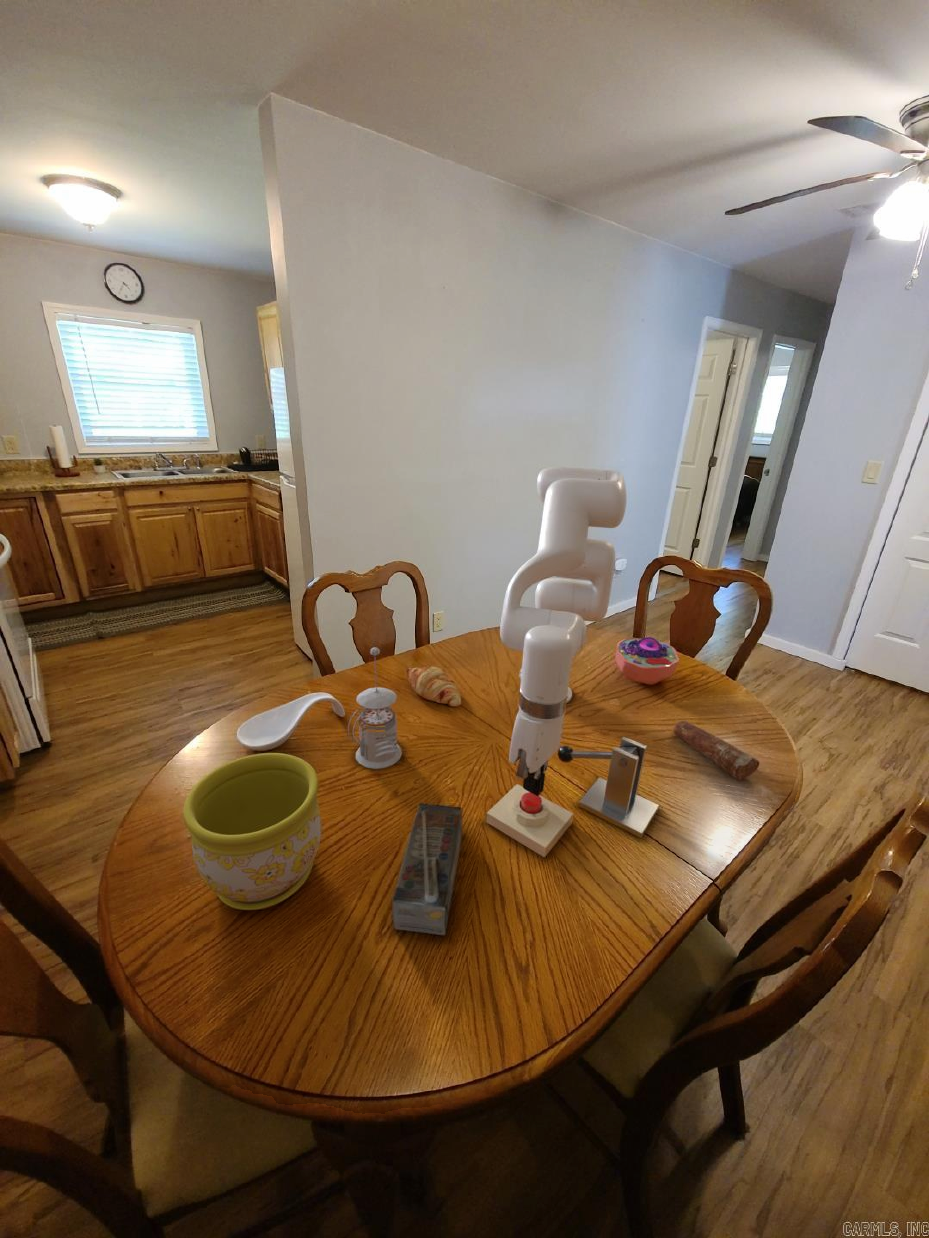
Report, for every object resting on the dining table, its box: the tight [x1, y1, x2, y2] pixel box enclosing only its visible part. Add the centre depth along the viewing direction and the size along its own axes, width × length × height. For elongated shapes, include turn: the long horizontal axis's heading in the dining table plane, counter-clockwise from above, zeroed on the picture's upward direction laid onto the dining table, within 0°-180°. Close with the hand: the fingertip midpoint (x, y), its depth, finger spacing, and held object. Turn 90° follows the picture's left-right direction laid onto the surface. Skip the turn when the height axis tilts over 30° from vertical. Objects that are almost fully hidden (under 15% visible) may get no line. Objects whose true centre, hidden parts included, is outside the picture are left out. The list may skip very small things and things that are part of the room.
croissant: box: [406, 665, 462, 707], centre depth 129 cm, size 21×10×8 cm, turn 44°
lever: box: [557, 745, 640, 764], centre depth 94 cm, size 16×3×3 cm, turn 51°
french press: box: [347, 646, 403, 770], centre depth 101 cm, size 10×12×25 cm
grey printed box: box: [391, 802, 463, 936], centre depth 77 cm, size 8×19×7 cm, turn 173°
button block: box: [485, 783, 574, 858], centre depth 89 cm, size 12×10×4 cm
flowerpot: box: [182, 752, 322, 911], centre depth 75 cm, size 18×18×16 cm
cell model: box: [614, 636, 680, 686], centre depth 140 cm, size 17×20×11 cm
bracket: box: [578, 736, 660, 839], centre depth 91 cm, size 12×9×14 cm
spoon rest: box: [236, 692, 346, 752], centre depth 111 cm, size 24×12×7 cm, turn 134°
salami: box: [673, 720, 760, 781], centre depth 109 cm, size 6×19×6 cm, turn 23°
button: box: [521, 792, 542, 814], centre depth 88 cm, size 4×4×2 cm
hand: (532, 789), depth 88 cm, fingers closed
